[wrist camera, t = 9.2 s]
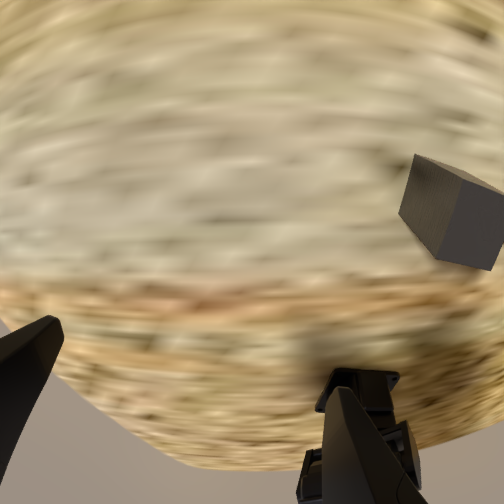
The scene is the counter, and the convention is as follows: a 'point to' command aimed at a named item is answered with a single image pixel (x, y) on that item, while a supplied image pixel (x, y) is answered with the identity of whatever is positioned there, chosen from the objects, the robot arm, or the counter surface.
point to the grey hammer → (454, 213)
